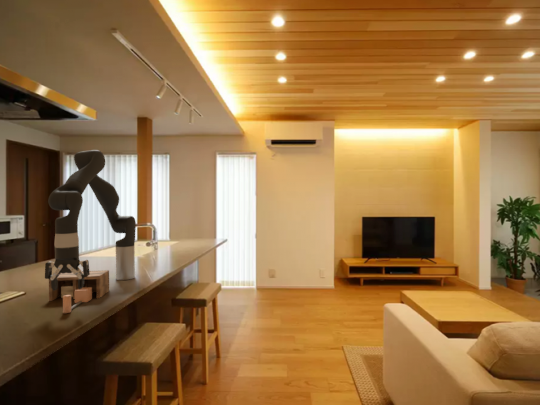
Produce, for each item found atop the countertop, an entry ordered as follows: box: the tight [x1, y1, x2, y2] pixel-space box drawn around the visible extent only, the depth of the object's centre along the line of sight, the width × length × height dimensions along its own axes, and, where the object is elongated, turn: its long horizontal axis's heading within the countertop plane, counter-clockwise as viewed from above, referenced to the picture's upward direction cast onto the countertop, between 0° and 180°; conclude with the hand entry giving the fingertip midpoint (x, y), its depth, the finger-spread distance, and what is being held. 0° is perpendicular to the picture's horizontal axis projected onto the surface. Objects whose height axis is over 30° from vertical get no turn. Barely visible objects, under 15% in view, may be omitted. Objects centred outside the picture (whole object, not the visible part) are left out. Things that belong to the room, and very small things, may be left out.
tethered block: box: [62, 287, 93, 314], centre depth 127 cm, size 18×5×6 cm, turn 9°
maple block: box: [60, 284, 73, 299], centre depth 142 cm, size 5×5×5 cm
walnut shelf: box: [48, 269, 110, 302], centre depth 142 cm, size 12×20×9 cm, turn 99°
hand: (67, 289), depth 120 cm, fingers open, 8 cm apart
